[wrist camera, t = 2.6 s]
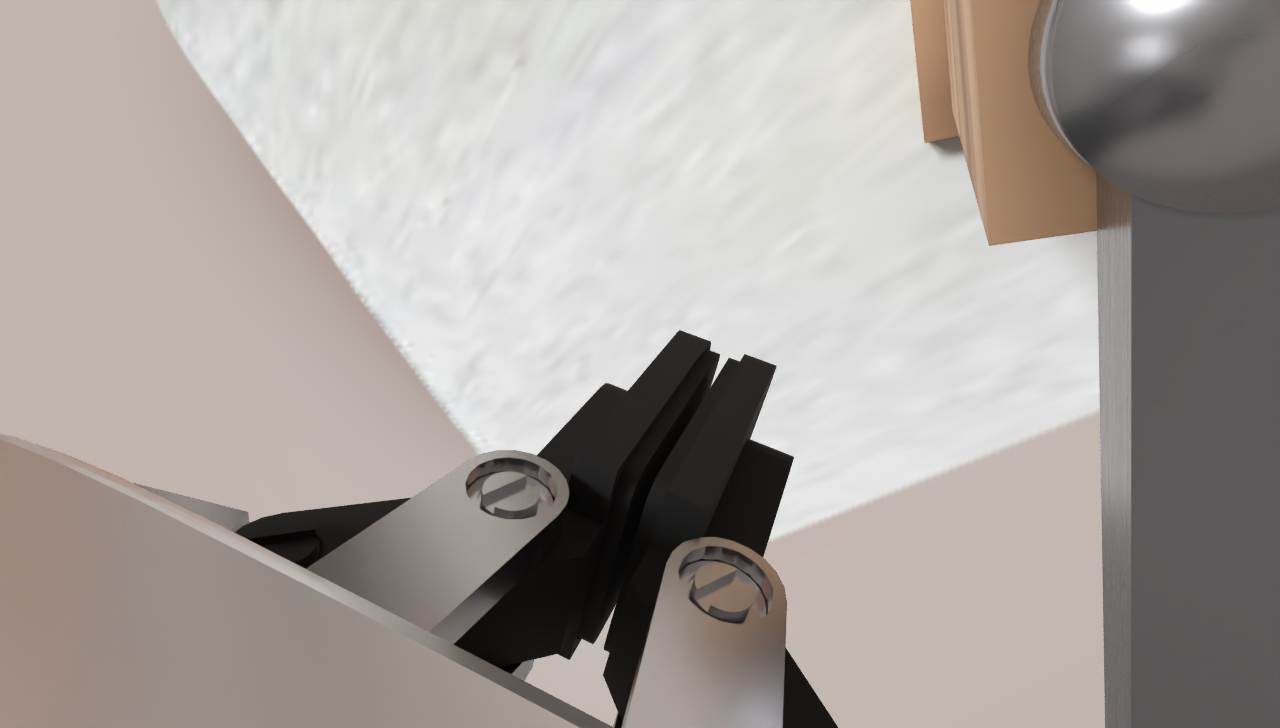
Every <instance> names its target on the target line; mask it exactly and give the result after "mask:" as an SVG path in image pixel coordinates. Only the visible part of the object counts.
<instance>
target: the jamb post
mask: <svg viewBox="0 0 1280 728" xmlns="http://www.w3.org/2000/svg"><path fill="white" fill-rule="evenodd" d="M910 1H911V11H912V21H913V31H914V41H915V51H916V61H917V71H918V81H919V91H920V101H921V111H922V121H923V131H924V141H925V143H927V142H932V141H937V140H941V139H946V138H951V137H956V136H959V137H960V140H961V144H962V148H963V151H964V155H965V159H966V162H967V166H968V170H969V173H970V177H971V181H972V184H973V188H974V192H975V195H976V199H977V203H978V206H979V210H980V214H981V217H982V221H983V225H984V228H985V232H986V236H987V239H988V243H989V246H991V245H998V244H1005V243H1012V242H1019V241H1026V240H1033V239H1041V238H1048V237H1055V236H1062V235H1069V234H1076V233H1083V232H1090V231H1097V194H1096V170H1095V169H1093V168H1092V167H1091V166H1090V165H1089V164H1087V163H1086V162H1085V161H1084V160H1083V159H1081V158H1080V157H1079V156H1078V155H1076V154H1075V153H1074V152H1073V151H1072V150H1070V149H1069V148H1068V147H1067V146H1065V145H1064V144H1063V143H1062V142H1061V141H1060V140H1059V139H1058V137H1057V136H1056V135H1055V134H1054V133H1053V132H1052V131H1051V130H1050V128H1049V127H1048V125H1047V124H1046V122H1045V121H1044V119H1043V118H1042V116H1041V113H1040V111H1039V109H1038V107H1037V105H1036V103H1035V100H1034V96H1033V93H1032V89H1031V85H1030V79H1029V71H1028V46H1029V39H1030V33H1031V27H1032V23H1033V20H1034V16H1035V13H1036V9H1037V6H1038V4H1039V1H1040V0H910Z"/></svg>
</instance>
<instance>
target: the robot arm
mask: <svg viewBox="0 0 1280 728" xmlns="http://www.w3.org/2000/svg"><path fill="white" fill-rule="evenodd" d="M710 347H711V342H710V341H708V340H705V339H702V338H699V337H697V336H694V335H691V334H689V333H686V332H683V331H678V332H677V333H676V335H675V336H674V337H673V338H672V339H671V341H670V342H669V343H668V344H667V345H666V346H665V348H664V349H663V350H662V351H661V352H660V354H659V355H658V356H657V357H656V358H655V359H654V361H653V362H652V363H651V364H650V365H649V367H648V368H647V369H646V370H645V371H644V372H643V374H642V375H641V376H640V377H639V378H638V380H637V381H636V382H635V383H634V384H633V386H632V387H631V388H630V389H629V390H628V391H626V390H624V389H621V388H619V387H616V386H614V385H611V384H609V383H605V384H604V385H603V386H602V387H600V388H599V390H598V391H597V392H596V393H595V394H594V395H593V396H592V397H591V398H590V399H589V400H588V401H587V402H586V403H585V405H584V406H583V407H582V408H581V409H580V410H579V411H578V412H577V413H576V414H575V415H574V416H573V417H572V419H571V420H570V421H569V422H568V423H567V424H566V425H565V426H564V427H563V428H562V429H561V430H560V431H559V432H558V434H557V435H556V436H555V437H554V438H553V439H552V440H551V441H550V442H549V443H548V444H547V445H546V446H545V447H544V449H543V450H542V451H541V452H540V453H539V454H538V455H537V456H536V455H533V454H530V453H525V452H520V451H515V450H498V451H493V452H488V453H483V454H480V455H478V456H476V457H474V458H472V459H470V460H468V461H466V462H465V463H464V464H462V465H461V466H459V467H458V468H456V469H454V470H453V471H452V472H450V473H449V474H447V475H445V476H444V477H443V478H441V479H439V480H438V481H436V482H435V483H433V484H432V485H430V486H429V487H427V488H426V489H424V490H423V491H422V492H420V493H419V494H417V495H416V496H414V497H413V498H405V499H397V500H389V501H381V502H372V503H364V504H355V505H347V506H339V507H330V508H322V509H314V510H305V511H297V512H289V513H281V514H277V515H273V516H268V517H263V518H260V519H258V520H256V521H253V522H249V516H248V512H246V511H242V510H238V509H234V508H230V507H226V506H222V505H219V504H214V503H211V502H207V501H203V500H199V499H195V498H190V497H187V496H183V495H179V494H175V493H171V492H167V491H163V490H159V489H155V488H151V487H147V486H143V485H139V484H136V483H132V482H130V481H128V480H125V479H124V478H121V477H119V476H117V475H114V474H112V473H110V472H107V471H105V470H103V469H100V468H98V467H96V466H93V465H91V464H88V463H86V462H84V461H82V460H79V459H77V458H74V457H72V456H70V455H67V454H65V453H62V452H59V451H56V450H53V449H50V448H47V447H44V446H41V445H39V444H36V443H32V442H30V441H27V440H24V439H20V438H17V437H14V436H9V435H5V434H1V433H0V728H838V727H837V725H836V724H835V722H834V721H833V719H832V718H831V716H830V714H829V713H828V711H827V710H826V708H825V707H824V705H823V704H822V702H821V701H820V699H819V698H818V696H817V695H816V693H815V692H814V690H813V689H812V687H811V685H810V684H809V682H808V681H807V679H806V678H805V677H804V675H803V674H802V672H801V670H800V669H799V667H798V666H797V664H796V663H795V661H794V660H793V658H792V657H791V655H790V654H789V652H788V651H787V649H786V647H785V640H786V612H787V600H786V594H785V588H784V585H783V584H782V582H781V580H780V578H779V576H778V574H777V572H776V571H775V570H774V569H773V568H772V567H771V565H770V564H769V563H768V562H767V561H766V560H765V559H764V558H763V556H764V552H765V549H766V546H767V543H768V540H769V536H770V533H771V530H772V527H773V524H774V520H775V517H776V514H777V511H778V507H779V504H780V501H781V498H782V495H783V491H784V488H785V485H786V482H787V478H788V475H789V472H790V469H791V466H792V462H793V459H794V457H793V456H790V455H788V454H785V453H783V452H780V451H778V450H775V449H773V448H770V447H768V446H765V445H763V444H760V443H758V442H755V441H753V440H750V438H751V435H752V432H753V430H754V427H755V424H756V421H757V419H758V416H759V413H760V411H761V408H762V405H763V402H764V400H765V397H766V394H767V391H768V389H769V386H770V383H771V381H772V378H773V375H774V372H775V369H776V366H775V365H773V364H770V363H767V362H765V361H762V360H759V359H756V358H754V357H751V356H748V355H746V354H745V355H744V356H743V358H742V359H741V361H740V362H739V361H737V360H734V359H731V358H729V359H728V360H727V362H726V364H725V365H724V367H723V368H722V370H721V372H720V373H719V375H718V377H717V378H716V380H715V381H714V383H713V385H712V386H711V384H712V381H713V378H714V374H715V371H716V368H717V365H718V361H719V357H720V354H718V353H715V352H712V351H710ZM710 387H711V388H710ZM615 605H616V607H615ZM614 607H615V610H614V614H613V617H612V620H611V624H610V628H609V631H608V634H607V638H606V641H605V645H604V650H606V651H608V652H610V654H609V657H608V660H607V664H606V667H605V670H604V674H603V676H604V678H605V681H606V683H607V686H608V688H609V691H610V693H611V696H612V698H613V700H614V703H615V705H616V708H617V710H618V713H617V716H616V719H615V722H614V725H613V727H612V726H610V725H608V724H606V723H604V722H602V721H600V720H598V719H596V718H594V717H592V716H590V715H588V714H586V713H585V712H583V711H581V710H579V709H577V708H575V707H573V706H571V705H569V704H567V703H565V702H563V701H562V700H560V699H558V698H556V697H554V696H552V695H550V694H548V693H546V692H544V691H542V690H540V689H538V688H536V687H534V686H532V685H531V684H529V683H527V682H525V681H524V680H525V679H526V677H527V675H528V674H529V672H530V671H531V669H532V667H533V662H534V659H537V658H541V657H546V656H550V655H554V654H559V655H561V656H563V657H565V658H567V659H570V658H571V657H572V655H573V653H574V651H575V650H576V648H577V646H578V644H579V642H580V641H581V639H584V640H586V641H588V642H590V643H592V644H593V643H594V642H595V641H596V639H597V638H598V636H599V634H600V632H601V630H602V629H603V627H604V625H605V623H606V621H607V620H608V618H609V616H610V614H611V612H612V610H613V609H614Z"/></svg>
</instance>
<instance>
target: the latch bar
mask: <svg viewBox="0 0 1280 728" xmlns="http://www.w3.org/2000/svg"><path fill="white" fill-rule="evenodd" d="M1028 71H1029V79H1030V85H1031V89H1032V93H1033V96H1034V100H1035V103H1036V105H1037V107H1038V109H1039V111H1040V113H1041V116H1042V118H1043V119H1044V121H1045V122H1046V124H1047V125H1048V127H1049V128H1050V130H1051V131H1052V132H1053V133H1054V134H1055V135H1056V136H1057V137H1058V139H1059V140H1060V141H1061V142H1062V143H1063V144H1064V145H1065V146H1067V147H1068V148H1069V149H1070V150H1072V151H1073V152H1074V153H1075V154H1076V155H1078V156H1079V157H1080V158H1081V159H1083V160H1084V161H1085V162H1086V163H1087V164H1089V165H1090V166H1091V167H1092V168H1093V169H1095V170H1096V194H1097V255H1098V316H1099V377H1100V433H1101V436H1100V437H1101V498H1102V556H1103V557H1102V560H1103V617H1104V618H1103V619H1104V620H1103V621H1104V677H1105V679H1104V680H1105V728H1280V0H1040V1H1039V4H1038V6H1037V9H1036V13H1035V16H1034V20H1033V23H1032V27H1031V33H1030V39H1029V46H1028Z"/></svg>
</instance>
